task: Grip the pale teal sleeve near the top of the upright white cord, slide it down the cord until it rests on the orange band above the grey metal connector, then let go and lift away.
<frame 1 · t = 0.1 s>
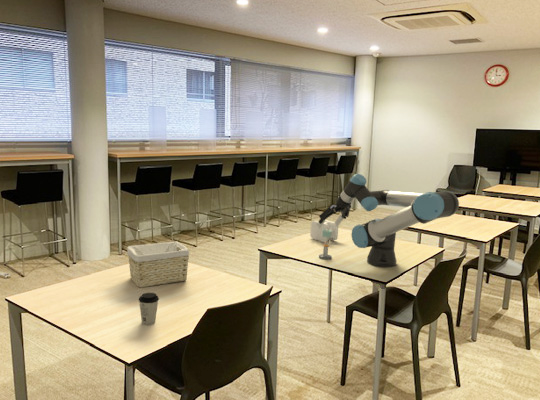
hand: (327, 225, 267), 15 cm above the table, tool tilted 35°, fingers open, 13 cm apart
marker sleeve: (326, 233, 257), point 14 cm above the table, slide at 0.0 cm
coffee cup: (148, 322, 170), on the table
storage basket: (157, 280, 213), on the table
cable organizer: (323, 240, 297), on the table
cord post: (325, 257, 259), on the table
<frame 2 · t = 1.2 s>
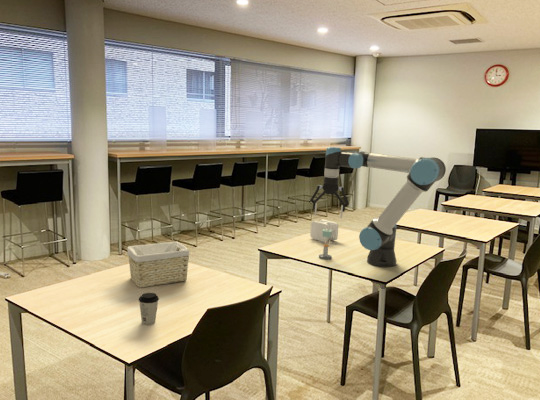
hand: (328, 216, 255), 23 cm above the table, tool pointing down, fingers open, 13 cm apart
nothing on the table moved.
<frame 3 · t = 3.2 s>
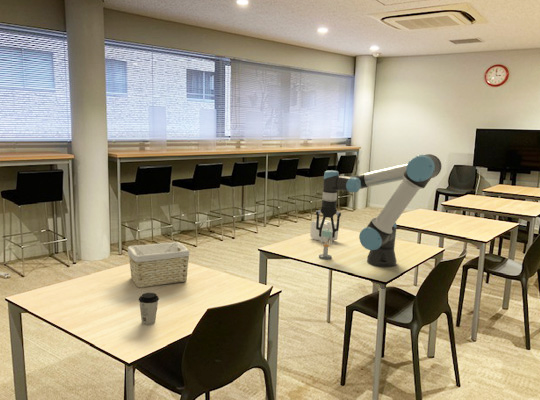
hand: (326, 242, 257), 8 cm above the table, tool pointing down, fingers closed on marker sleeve, 4 cm apart
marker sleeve: (326, 233, 257), point 14 cm above the table, slide at 0.0 cm, touching gripper
everything else where it was.
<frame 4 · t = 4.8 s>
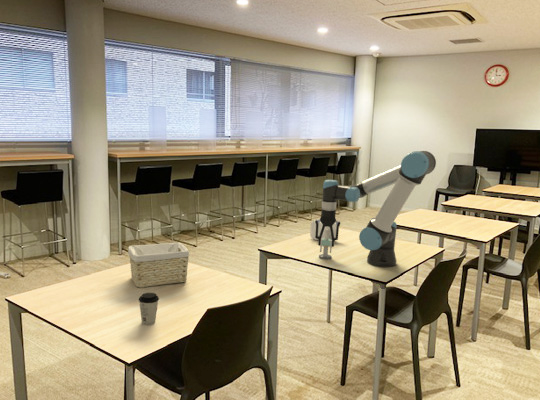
hand: (325, 251, 258), 3 cm above the table, tool pointing down, fingers open, 4 cm apart
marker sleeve: (326, 242, 257), point 9 cm above the table, slide at -5.0 cm
everything else where it was.
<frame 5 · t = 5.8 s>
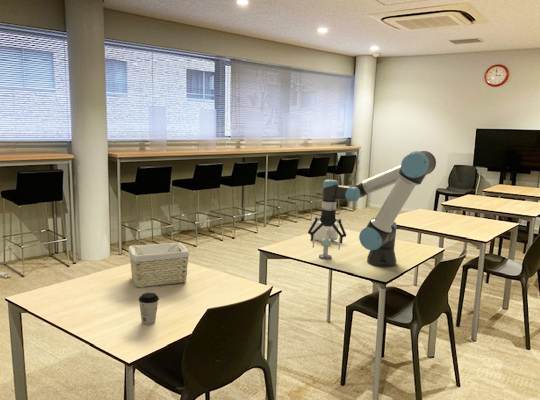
hand: (326, 248, 258), 5 cm above the table, tool pointing down, fingers open, 13 cm apart
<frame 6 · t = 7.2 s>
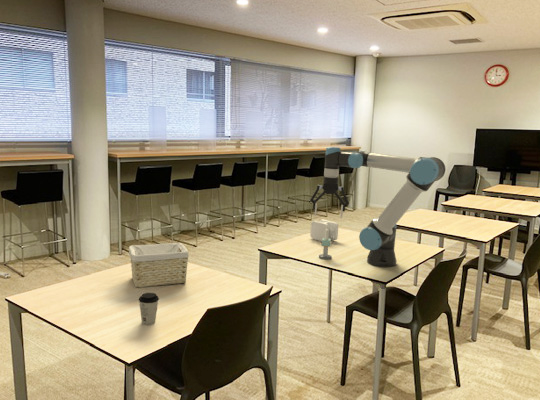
hand: (328, 216, 255), 23 cm above the table, tool pointing down, fingers open, 13 cm apart
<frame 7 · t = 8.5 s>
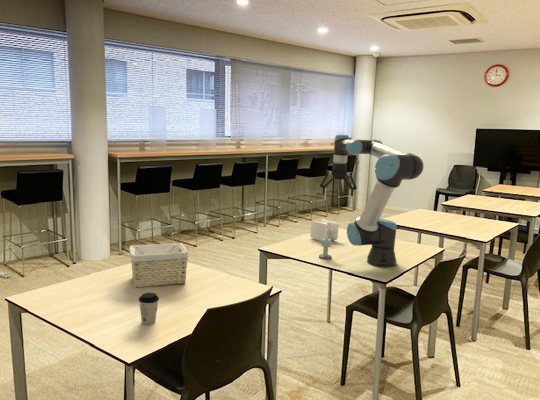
hand: (337, 200, 270), 29 cm above the table, tool pointing down, fingers open, 13 cm apart
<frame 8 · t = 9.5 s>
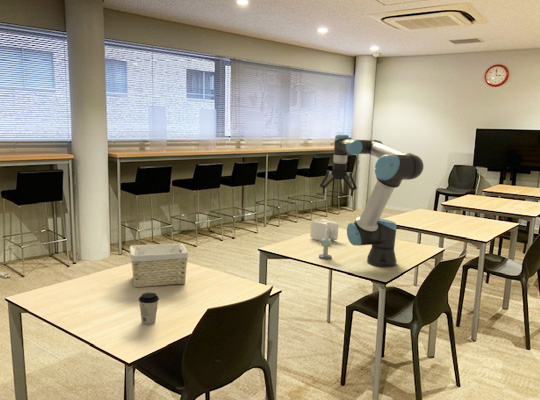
hand: (337, 200, 270), 29 cm above the table, tool pointing down, fingers open, 13 cm apart
at the end: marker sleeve slide at -5.0 cm; the gripper is holding nothing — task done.
